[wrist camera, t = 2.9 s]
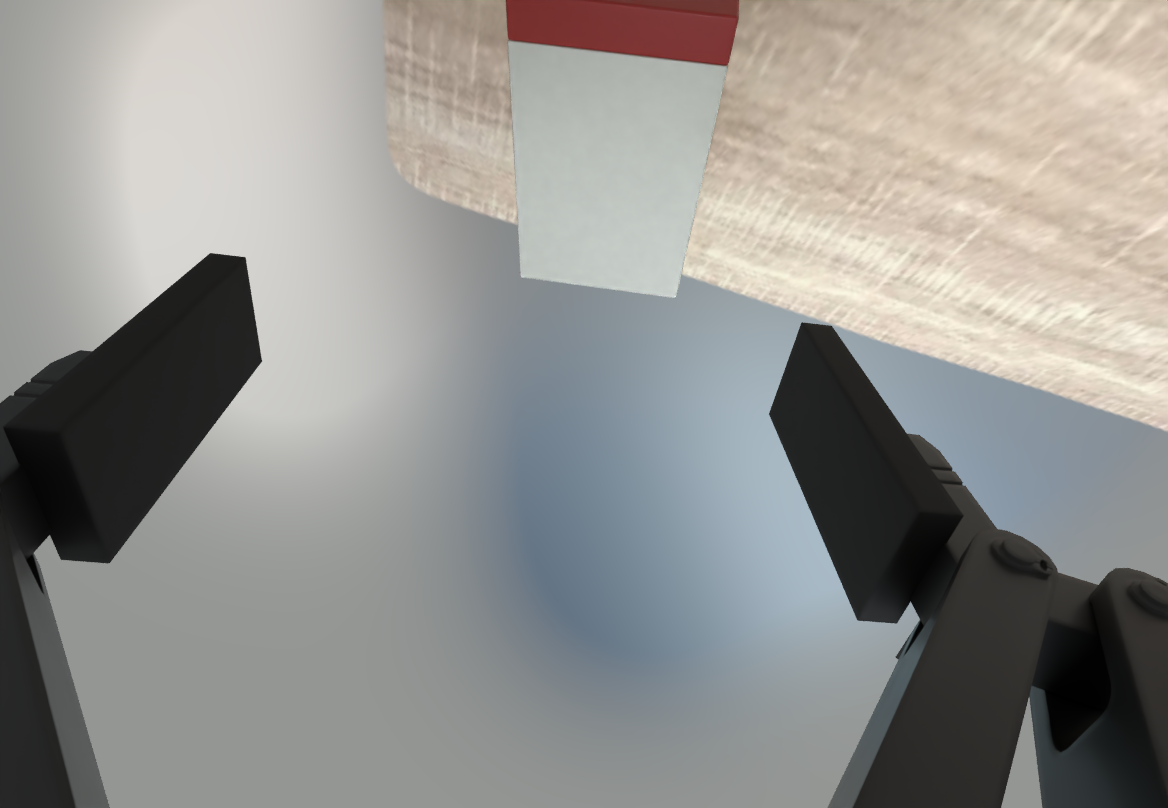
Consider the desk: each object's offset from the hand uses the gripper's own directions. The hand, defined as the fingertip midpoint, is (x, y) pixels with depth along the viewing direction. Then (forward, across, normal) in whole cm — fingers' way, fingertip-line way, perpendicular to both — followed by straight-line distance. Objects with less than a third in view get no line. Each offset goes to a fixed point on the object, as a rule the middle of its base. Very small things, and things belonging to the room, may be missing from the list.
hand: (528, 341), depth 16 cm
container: (+18, +3, +4) cm, 19 cm away
